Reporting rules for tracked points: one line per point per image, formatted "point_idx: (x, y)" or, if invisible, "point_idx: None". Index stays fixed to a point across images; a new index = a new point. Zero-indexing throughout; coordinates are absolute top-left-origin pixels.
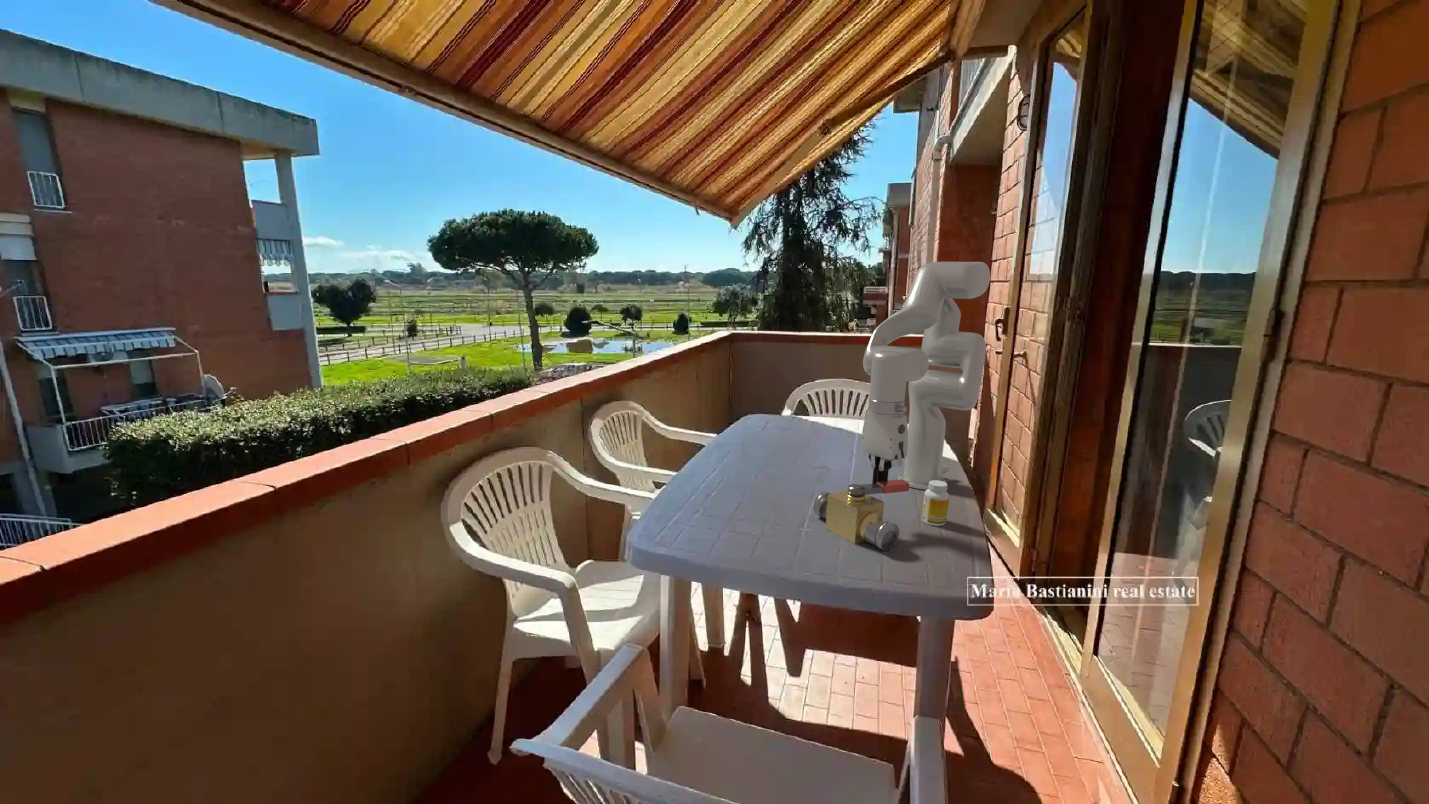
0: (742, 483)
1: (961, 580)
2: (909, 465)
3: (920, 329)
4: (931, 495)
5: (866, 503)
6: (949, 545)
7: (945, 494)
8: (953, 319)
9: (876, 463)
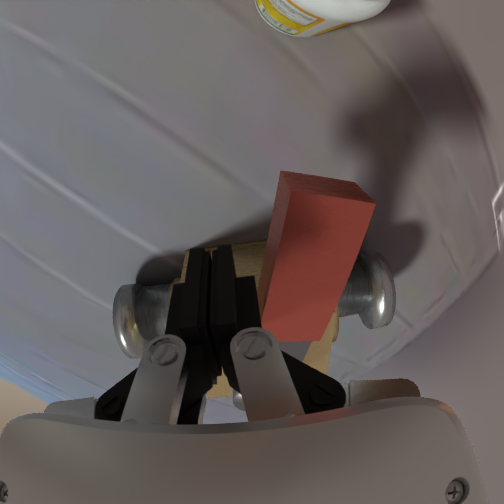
0: None
1: (489, 221)
2: None
3: None
4: (356, 16)
5: (312, 358)
6: (430, 110)
7: None
8: None
9: (201, 406)
